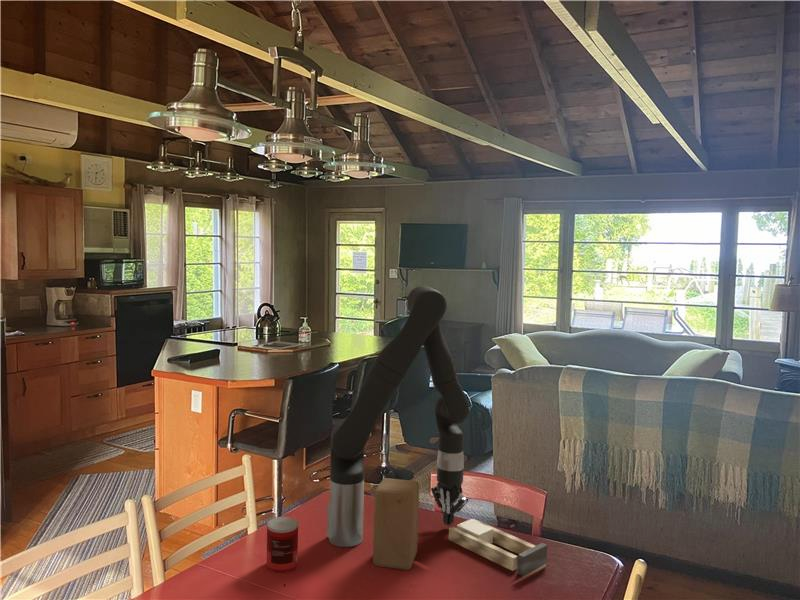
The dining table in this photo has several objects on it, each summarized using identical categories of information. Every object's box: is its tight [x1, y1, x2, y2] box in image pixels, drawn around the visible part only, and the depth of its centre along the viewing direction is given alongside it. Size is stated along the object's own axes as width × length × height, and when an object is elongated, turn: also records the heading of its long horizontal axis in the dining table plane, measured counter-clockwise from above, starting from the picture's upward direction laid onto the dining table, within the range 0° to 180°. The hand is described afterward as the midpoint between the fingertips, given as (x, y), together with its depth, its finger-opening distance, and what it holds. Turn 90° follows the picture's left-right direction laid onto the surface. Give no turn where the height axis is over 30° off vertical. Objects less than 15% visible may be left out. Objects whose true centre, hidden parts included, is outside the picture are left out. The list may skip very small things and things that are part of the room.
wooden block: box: [372, 477, 420, 571], centre depth 164 cm, size 10×10×20 cm
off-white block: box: [456, 518, 494, 545], centre depth 175 cm, size 8×6×4 cm
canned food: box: [266, 516, 299, 574], centre depth 160 cm, size 8×8×11 cm
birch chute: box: [448, 518, 548, 579], centre depth 170 cm, size 26×10×6 cm, turn 43°
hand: (448, 524), depth 182 cm, fingers closed
